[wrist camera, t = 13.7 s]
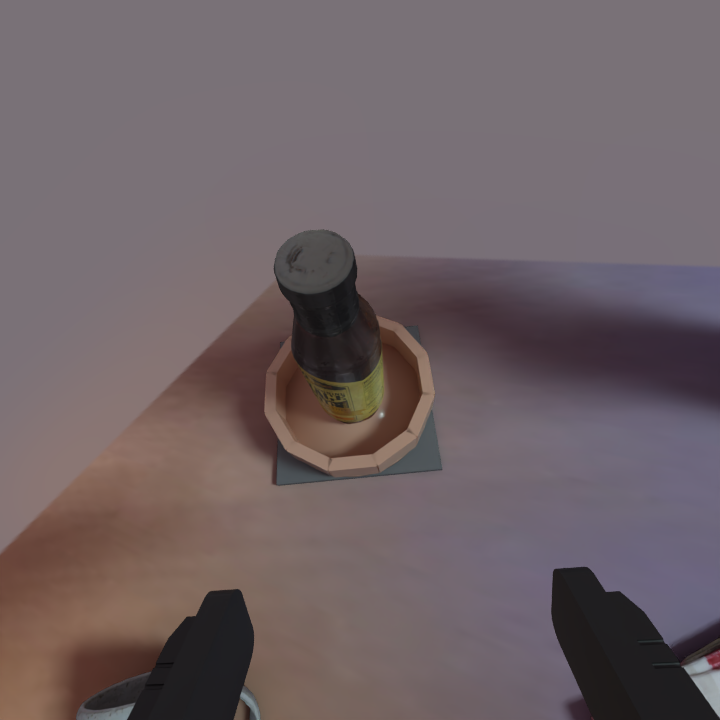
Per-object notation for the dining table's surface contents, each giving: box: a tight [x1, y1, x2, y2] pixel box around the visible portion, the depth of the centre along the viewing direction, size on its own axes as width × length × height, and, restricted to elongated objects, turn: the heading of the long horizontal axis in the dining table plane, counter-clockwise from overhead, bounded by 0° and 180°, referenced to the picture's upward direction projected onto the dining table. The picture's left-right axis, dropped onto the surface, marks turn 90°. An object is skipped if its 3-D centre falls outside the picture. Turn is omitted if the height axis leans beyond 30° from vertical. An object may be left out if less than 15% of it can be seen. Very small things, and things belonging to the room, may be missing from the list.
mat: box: [277, 326, 442, 486], centre depth 37 cm, size 15×15×1 cm
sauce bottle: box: [274, 230, 384, 424], centre depth 27 cm, size 7×6×20 cm
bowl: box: [264, 315, 435, 478], centre depth 35 cm, size 15×15×4 cm
